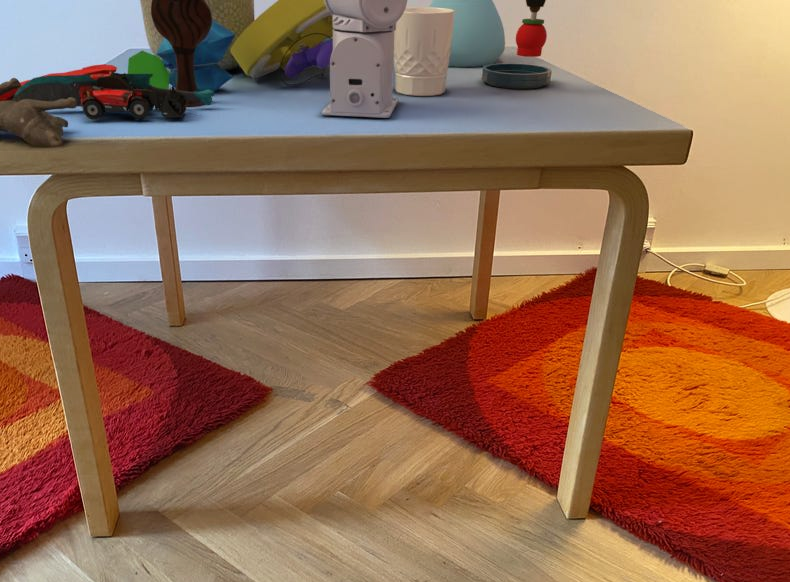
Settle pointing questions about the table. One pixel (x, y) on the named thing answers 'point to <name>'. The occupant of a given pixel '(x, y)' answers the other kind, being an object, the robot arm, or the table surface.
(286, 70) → the game controller
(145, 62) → the gemstone
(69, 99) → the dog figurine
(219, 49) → the crystal
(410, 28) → the white cup
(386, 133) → the table surface
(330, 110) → the robot arm
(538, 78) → the dish
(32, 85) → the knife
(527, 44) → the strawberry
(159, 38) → the planter
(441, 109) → the table surface
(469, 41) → the sugar bowl
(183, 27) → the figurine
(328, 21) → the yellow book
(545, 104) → the table surface
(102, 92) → the loader
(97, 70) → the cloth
